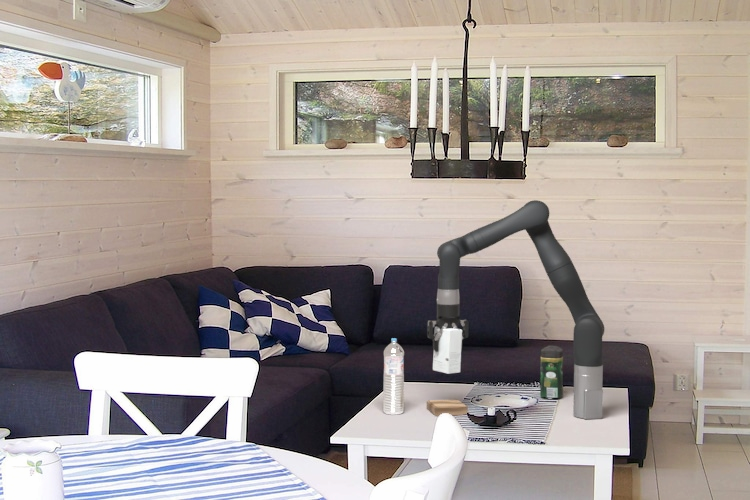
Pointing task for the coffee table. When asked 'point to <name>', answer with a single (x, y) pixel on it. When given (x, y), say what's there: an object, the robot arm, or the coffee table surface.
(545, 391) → the coffee jar
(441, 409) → the plinth
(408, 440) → the coffee table surface
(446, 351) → the skincare box
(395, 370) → the water bottle
